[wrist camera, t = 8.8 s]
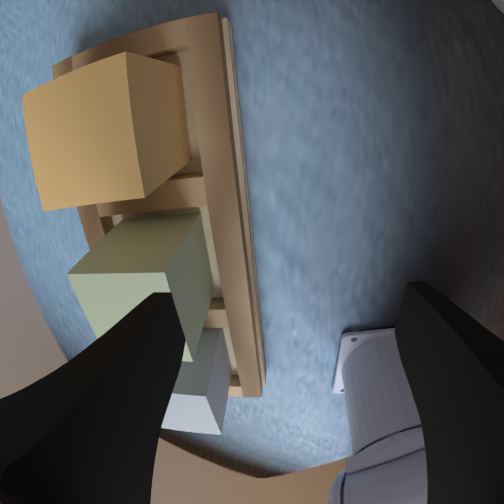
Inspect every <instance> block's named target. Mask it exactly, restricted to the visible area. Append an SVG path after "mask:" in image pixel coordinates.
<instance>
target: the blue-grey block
mask: <svg viewBox="0 0 504 504" xmlns="http://www.w3.org/2000/svg"><path fill="white" fill-rule="evenodd" d="M231 373H232V367H231V362H230V358H229V353H228V349H227V344H226V340H225V335H224V330H223V328H203V329H202V333H201V336H200V339H199V343H198V346H197V350H196V353H195V357H194V360H193V362H187V361H182V363H181V368H180V371H179V374H178V377H177V380H176V383H175V386H174V389H173V392H172V395H171V398H170V401H169V404H168V407H167V410H166V413H165V416H164V420H163V423H162V426H161V428H166V429H173V430H180V431H188V432H196V433H206V434H218V435H222V429H223V422H224V416H225V410H226V404H227V398H228V391H229V385H230V379H231Z"/></svg>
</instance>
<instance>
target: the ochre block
mask: <svg viewBox="0 0 504 504" xmlns="http://www.w3.org/2000/svg"><path fill="white" fill-rule="evenodd" d="M22 101H23V110H24V119H25V126H26V133H27V140H28V145H29V151H30V156H31V161H32V166H33V171H34V175H35V180H36V184H37V188H38V192H39V196H40V200H41V203H42V207H43V210H44V211H50V210H57V209H63V208H69V207H76V206H83V205H90V204H98V203H105V202H113V201H122V200H130V199H139V198H145V197H147V196H148V195H149V194H150V193H151V192H153V191H154V190H155V189H156V188H158V187H159V186H160V185H161V184H162V183H164V182H165V181H166V180H167V179H169V178H170V177H171V176H172V175H174V174H175V173H176V172H178V171H179V170H180V169H181V168H183V167H184V166H185V165H187V164H188V163H189V162H191V161H192V157H191V149H190V141H189V133H188V124H187V115H186V105H185V95H184V85H183V74H182V67H180V66H177V65H174V64H170V63H167V62H164V61H160V60H157V59H153V58H149V57H145V56H142V55H138V54H134V53H129V52H123V53H119V54H116V55H113V56H110V57H108V58H105V59H102V60H99V61H96V62H94V63H91V64H88V65H86V66H83V67H81V68H78V69H76V70H74V71H71V72H69V73H67V74H64V75H62V76H60V77H58V78H56V79H53V80H51V81H49V82H47V83H45V84H43V85H41V86H39V87H37V88H35V89H33V90H31V91H30V92H28V93H26V94H24V95H22Z"/></svg>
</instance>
